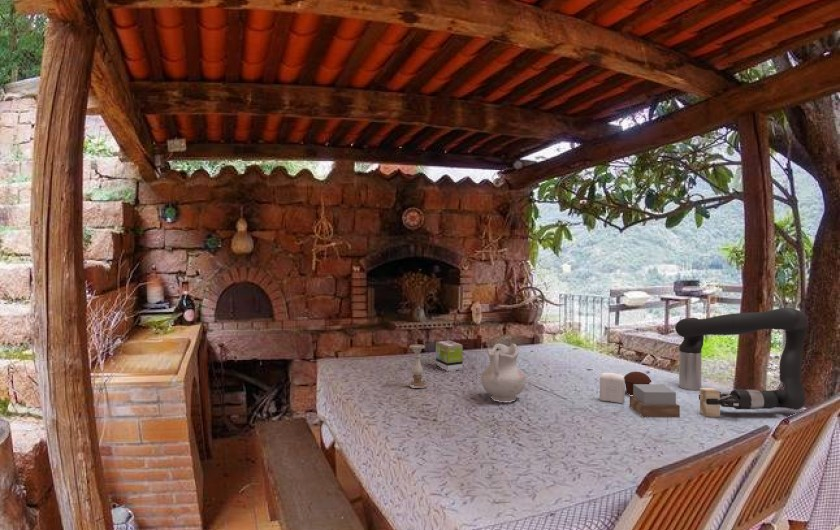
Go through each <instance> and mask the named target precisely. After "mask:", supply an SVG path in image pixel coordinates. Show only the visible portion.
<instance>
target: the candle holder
mask: <svg viewBox="0 0 840 530" xmlns="http://www.w3.org/2000/svg"><path fill="white" fill-rule="evenodd" d="M425 347H426V346H425V345H424V344H416V343H415V344H410V345H409V349H411V350H412V351H413V353H414V355H413V358H414V361H413V366H412V368H411V373H412V378H413V381H411V382H410V384H411V385H414V386H422V385H425V384H426V383H425V382H424V381H422V378H423V375H422V374H423V373H424V369H423V366H422V363H421V358H422V355H421V352H422V349H425Z"/></svg>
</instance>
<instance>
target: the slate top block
mask: <svg viewBox="0 0 840 530" xmlns="http://www.w3.org/2000/svg"><path fill="white" fill-rule="evenodd" d="M633 396H634V397H635V398H636V399H638V400H639V401H640V402H642V403H643V404H644V405H676V404H677V392H676V391H674V390H672V389H671V388H670V387H667V386H666V385H664V384H661V383H657V384H654V383H653V384H652V383H649V384H633Z"/></svg>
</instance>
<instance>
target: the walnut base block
mask: <svg viewBox="0 0 840 530" xmlns="http://www.w3.org/2000/svg"><path fill="white" fill-rule="evenodd" d="M630 406H631V407H632V408H633V410H634V411H635V410H636V411H637V412H638V414H639V415H640V414H641V415H642V416H643V417H642V416H641V415H640V416H641V417H642V418H680V417H681V416H680V415H681V409H680V408H681V406H680V405H679V404H677V403H676V405H644V404H643V403H642V402H640V401H639V400H638V399H636V398H635V397H634V396H630V395H629V407H630ZM631 407H630V408H631ZM632 408H631V409H632ZM636 411H635V412H636ZM637 412H636V413H637Z"/></svg>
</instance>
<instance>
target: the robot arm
mask: <svg viewBox="0 0 840 530" xmlns="http://www.w3.org/2000/svg"><path fill="white" fill-rule="evenodd" d="M808 323H809V319H808V316H807V314H806V313H804V312H803V311H801V310H799V309H795V308H792V307H781V308H776V309H771V310H766V311H758V312H757V311H756V312H755V311H754V312H752V311H751V312H736V313H729V314H728V313H726V314H721V315H717V316H711V317H708V318H697V317H687V318H681V319H679V320H678V321H677V322H676V324H675V332H676V333H677V334H678V335H679V336H680V337H681V338H683V341H682V342H681V343H680V345H679V346H678V347H679V348H678V351H679V352H678V353H679V354H678V357H679V362H678V363H679V366H678V387H680V389H684V390H689V391H690V390H691V391H700V388H702V349H703V346H704V340H705V339H704V337H705V336H736V335H737V336H738V335H739V336H740V335H747V334H751V333H755V332H758V331H762V330H782V331H783V330H784V331H785V344H784V348H783V351H782V354H781V357H780V359H779V360H780V361H779V375H778V376H779V381H780V382H781V383H782V384H784V386H785V389H773V390H768V389H767V390H765V389H764V390H762V389H761V390H759V389H757V390H756V389H732V390H731V391H730V393H727V392H726V393H725V392H723V393H722V392H721V391H720V398H717V399H706V404H708V405H718V406H721V407H722V408H734V409H735V410H760V409H761V410H762V409H767V410H768V409H775V408H779V409H780V408H781V409H789V410H800V409H802V408H804V407H805V404H806V400H807V399H806V393H805V389H804V385H803V383H802V372H803V371H802V369H803V368H802V366H803V364H802V362H803V361H802V360H803V351H804V346H805V345H804V344H805V340H806V333H807V329H808ZM698 400H699V401H700V394H698Z"/></svg>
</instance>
